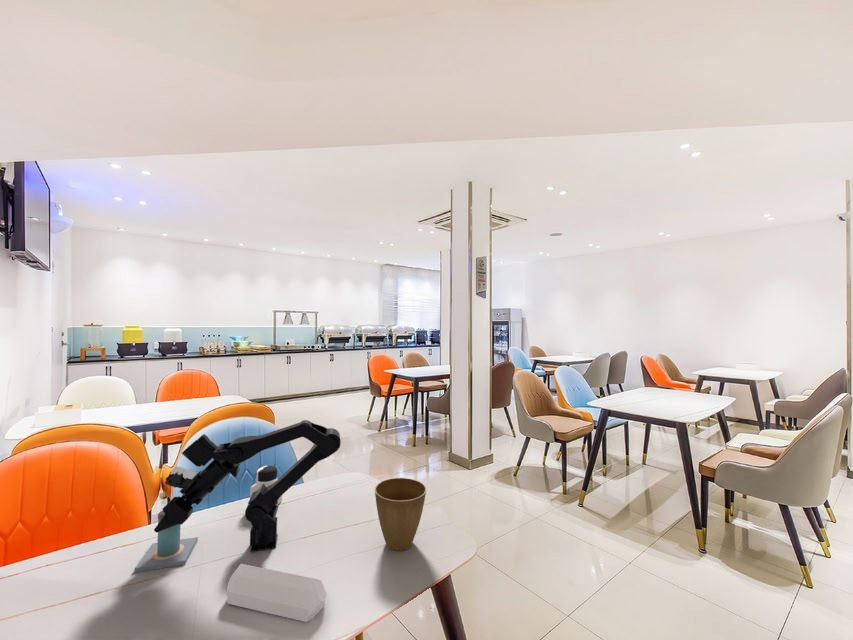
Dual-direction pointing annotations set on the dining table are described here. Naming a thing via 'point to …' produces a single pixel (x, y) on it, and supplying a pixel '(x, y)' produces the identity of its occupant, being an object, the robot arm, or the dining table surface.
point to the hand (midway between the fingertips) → (163, 521)
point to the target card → (155, 562)
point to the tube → (168, 539)
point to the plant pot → (399, 510)
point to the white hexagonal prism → (276, 592)
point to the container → (265, 479)
